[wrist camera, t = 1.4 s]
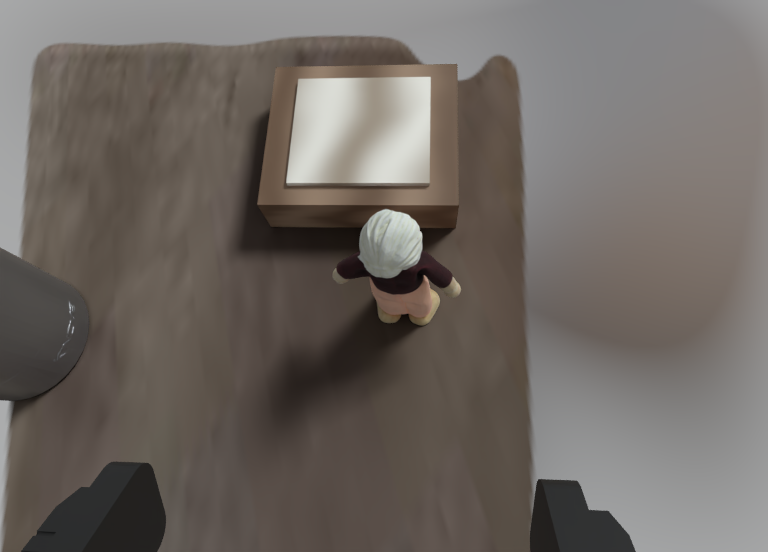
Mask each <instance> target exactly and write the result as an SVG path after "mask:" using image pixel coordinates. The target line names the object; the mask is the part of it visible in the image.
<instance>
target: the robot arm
mask: <svg viewBox="0 0 768 552" xmlns="http://www.w3.org/2000/svg"><path fill="white" fill-rule="evenodd" d="M88 330H89V316H88V310H87V307H86V304H85V301H84V300H83V298H82V297H81V295H80V294H79V292H78V291H77V290H75V289H74V288H73V287H72V286H71V285H70V284H68V283H66V282H64V281H62V280H60V279H58V278H56V277H54V276H53V275H51V274H49V273H47V272H45V271H43V270H41V269H39V268H37V267H36V266H34V265H32V264H30V263H29V262H27V261H25V260H23V259H21V258H19V257H17V256H15V255H13V254H11V253H9V252H7V251H6V250H4V249H2V248H0V400H8V401H17V400H23V399H28V398H31V397H34V396H36V395H39V394H41V393H43V392H45V391H47V390H48V389H50V388H52V387H53V386H55V385H56V384H57V383H58V382H59V381H61V380H62V379H63V378H64V377H65V376H66V375H67V374H68V373H69V371H70V370H71V369H72V368H73V367H74V365H75V364H76V362H77V361H78V359H79V357H80V355H81V354H82V352H83V349H84V346H85V343H86V341H87V337H88ZM165 526H166V515H165V510H164V507H163V503H162V499H161V496H160V492H159V489H158V485H157V482H156V478H155V474H154V471H153V468H152V466H151V465H150V464H149V463H135V462H111V463H109V464H108V465H106V466H105V467H104V469H103V470H102V471H101V473H100V474H99V475H98V477H97V478H96V479H95V481H94V482H93V483H92V485H91V486H90V487H81V488H80V489H78V490H77V491H76V492H75V493H73V494H72V495H71V496H69V497H68V498H67V499H66V500H64V501H63V502H62V503H60V504H59V505H58V506H57V507H56V508H55V509H54V510H53V511H52V513H51V514H50V515H49V516H48V518H47V519H46V520H45V522H44V523H43V524H42V525H41V527H40V528H39V529H38V530H37V535H36V536H33V537H32V538H31V539H30V541H29V542H28V543H27V544H26V546H25V547H24V548H23V550H22V551H21V552H157V551H158V549H159V547H160V545H161V542H162V539H163V536H164V532H165ZM530 551H531V552H636V551H635V549H634V547H633V544H632V541H631V539H630V536H629V535H628V533H627V532H626V531H625V530H624V529H623V528H622V526H621V525H620V524H619V523H618V522H617V521H616V520H615V518H614V517H613V516H612V515H611V514H610V513H609V511H595V510H589V509H588V506H587V504H586V501H585V498H584V495H583V492H582V489H581V486H580V485H579V483H578V481H571V480H545V479H539V480H538V481H537V485H536V492H535V500H534V507H533V515H532V523H531V531H530Z"/></svg>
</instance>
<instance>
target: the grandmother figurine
mask: <svg viewBox="0 0 768 552" xmlns="http://www.w3.org/2000/svg"><path fill="white" fill-rule="evenodd" d="M359 248H360V252H357V253H355V254H353V255H351V256H349V257H348V258H346V259H344V260H342V261H341V262H339V263H338V265H337V267H336V269H335V270H334V271H333V279H334V280H335V281H336V282H337V283H345V282H347V281H348V280H349V279H353V278H359V277H368V276H370V284H371V290H372V293H373V295H374V297H375V299H376V301H377V308H378V316H379V318H380V320H381V321H383V322H385V323H394V322H397V321H398V320H399V319H400V317H401V314H409V318H410V320H411V321H412V322H413V323H415V324H417V325H426V324H428V323H429V322H430V320H431V319H432V317H433V315H434V314H435V312H436V310H437V308H438V306H439V303H440V299H439V296H438V294H437V293H436V292H435V291H433V290H432V289H430V286H429V282H428V279H429V280H430V281H431V282H432V283H433V284H434V285H436V286H437V287H439V288H440V289H441V290H442V291H444V293H445V295H446V296H447V297H449V298H455V297H457V296H458V295H459V294H460V291H461V288H460V285H459V284H458V283H457V282H456V281H455V279H454V278H453V276H452V273H451V272H450V271H449V270H448V269H447V268H445V267H444V266H442V265H441V264H440V263H438V262H437V261H436V260H435V259H434V258H433V257H432V256H431V255H429V254H428V253H427V252H425V251H423V250H422V233H421V232H420V227H419V225H418V224H417V222H416V221H415V220H414V219H412V218H411V217H410V216H409V215H407V214H405V213H401V212H395V211H392V210H388V209H385V210H381V211H379V212H377V213H375V214H374V215H373V216H372V217H371V218H370V219H369V220H368V222H367V223H366V224H365V225H364V227H363V228H362V231H361V233H360V240H359ZM426 276H427V277H428V279H427V278H426Z"/></svg>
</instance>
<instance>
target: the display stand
mask: <svg viewBox="0 0 768 552" xmlns="http://www.w3.org/2000/svg"><path fill="white" fill-rule="evenodd" d="M257 205H258V207H259V208H260V210H261V212H262V213H263V215H264V216H265V218H266V220H267V221H268V223H269V224H270V226H271V227H358V228H363V227H364V225H365V224H366V223H367V222H368V220H369V219H370V218H371V217H372V216H373V215H374V214H375V213H377V212H379V211H381V210H385V209H388V210H392V211H395V212H401V213H405V214H407V215H409V216H410V217H411V218H412V219H414V220H415V221H416V222H417V224H418V225H419V227H420V228H456V222H457V214H458V207H459V178H458V84H457V64H434V65H374V66H315V67H276V71H275V79H274V86H273V93H272V101H271V108H270V115H269V123H268V130H267V137H266V144H265V152H264V159H263V166H262V174H261V181H260V188H259V195H258V203H257Z"/></svg>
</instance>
